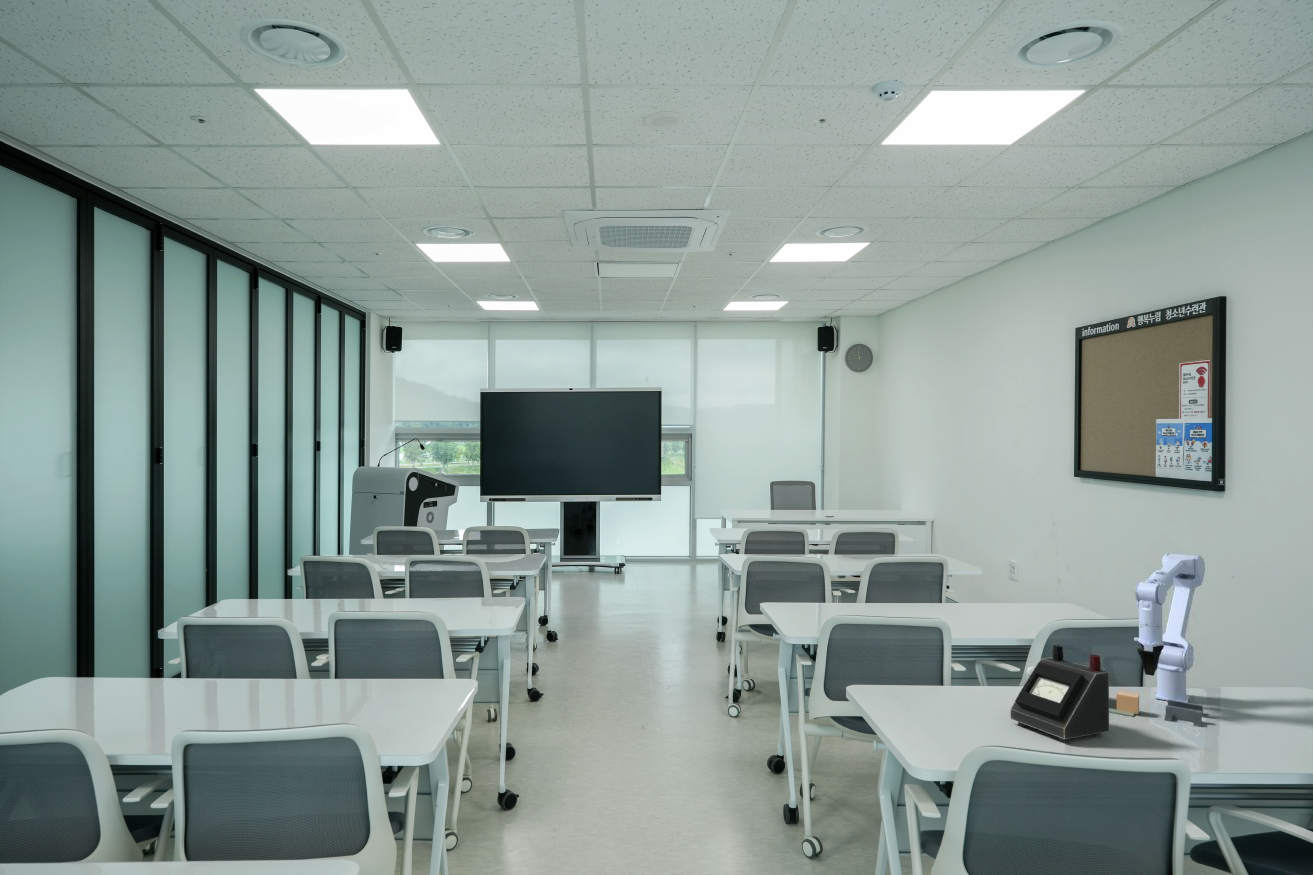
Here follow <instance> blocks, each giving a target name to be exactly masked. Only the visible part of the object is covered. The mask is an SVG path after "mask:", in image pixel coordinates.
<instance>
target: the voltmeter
mask: <svg viewBox="0 0 1313 875" xmlns="http://www.w3.org/2000/svg"><path fill="white" fill-rule="evenodd" d="M1063 651H1064V647H1063V646H1062V645H1060V644H1058V645H1057V644H1053V646H1052V657H1045V658H1040V659H1039V661H1038V662H1037V664H1036V665H1035V669H1034V670H1033V672H1032V674H1031V675H1030V677H1028V678H1027V680H1026V681H1025V684H1024V685H1023V687H1022V688H1021V689H1020V691H1019V694H1018V695H1017V697H1016V699H1015V700H1014V702H1013V704H1012V706H1011V708H1010V709H1009V711H1010V714H1009V716H1010V717H1009V718H1010V719H1011V720H1013V721H1015V722H1017V724H1018V726H1019V727H1022V728H1027V727H1028V726H1029V727H1031V728H1034V729H1037V730H1039V731H1042V732H1044V733H1047V734H1050V735H1052V736H1055V737H1057V740H1058V741H1059V742H1060V743H1068V739H1073V738H1074V739H1075V738H1079V737H1085V736H1092V737H1101V734H1102V733H1108V732H1110V713H1109V698H1110V677H1109V676H1110V672H1109V671H1106V670H1102V668H1101V666H1102V664H1101V655H1099V654H1092V653H1091V654H1090V655H1089V666H1087V665H1084V664H1079V663H1076V662H1072V661H1069V660H1066V659H1064V652H1063Z"/></svg>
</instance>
